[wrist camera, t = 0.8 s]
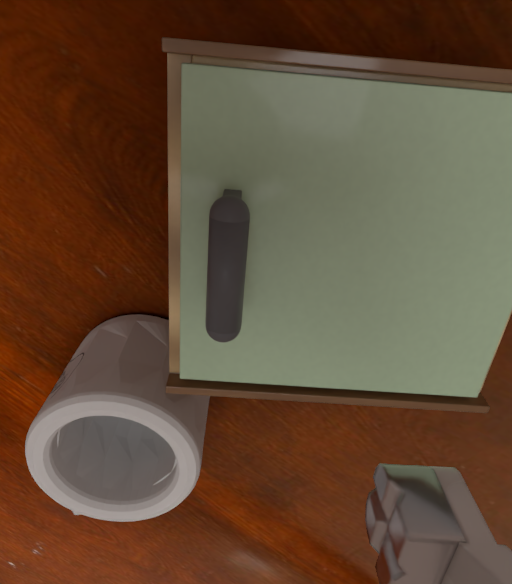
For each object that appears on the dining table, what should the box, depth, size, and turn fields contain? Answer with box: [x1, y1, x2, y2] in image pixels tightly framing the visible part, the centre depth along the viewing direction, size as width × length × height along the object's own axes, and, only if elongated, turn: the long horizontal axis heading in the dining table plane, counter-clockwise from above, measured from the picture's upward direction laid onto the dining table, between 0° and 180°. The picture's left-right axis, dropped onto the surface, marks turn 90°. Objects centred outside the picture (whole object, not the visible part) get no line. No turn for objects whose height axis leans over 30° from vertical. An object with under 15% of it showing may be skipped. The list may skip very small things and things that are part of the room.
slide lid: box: [180, 63, 512, 397], centre depth 20 cm, size 15×17×4 cm
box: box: [162, 37, 512, 413], centre depth 26 cm, size 17×18×10 cm
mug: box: [25, 314, 210, 522], centre depth 32 cm, size 14×11×10 cm
